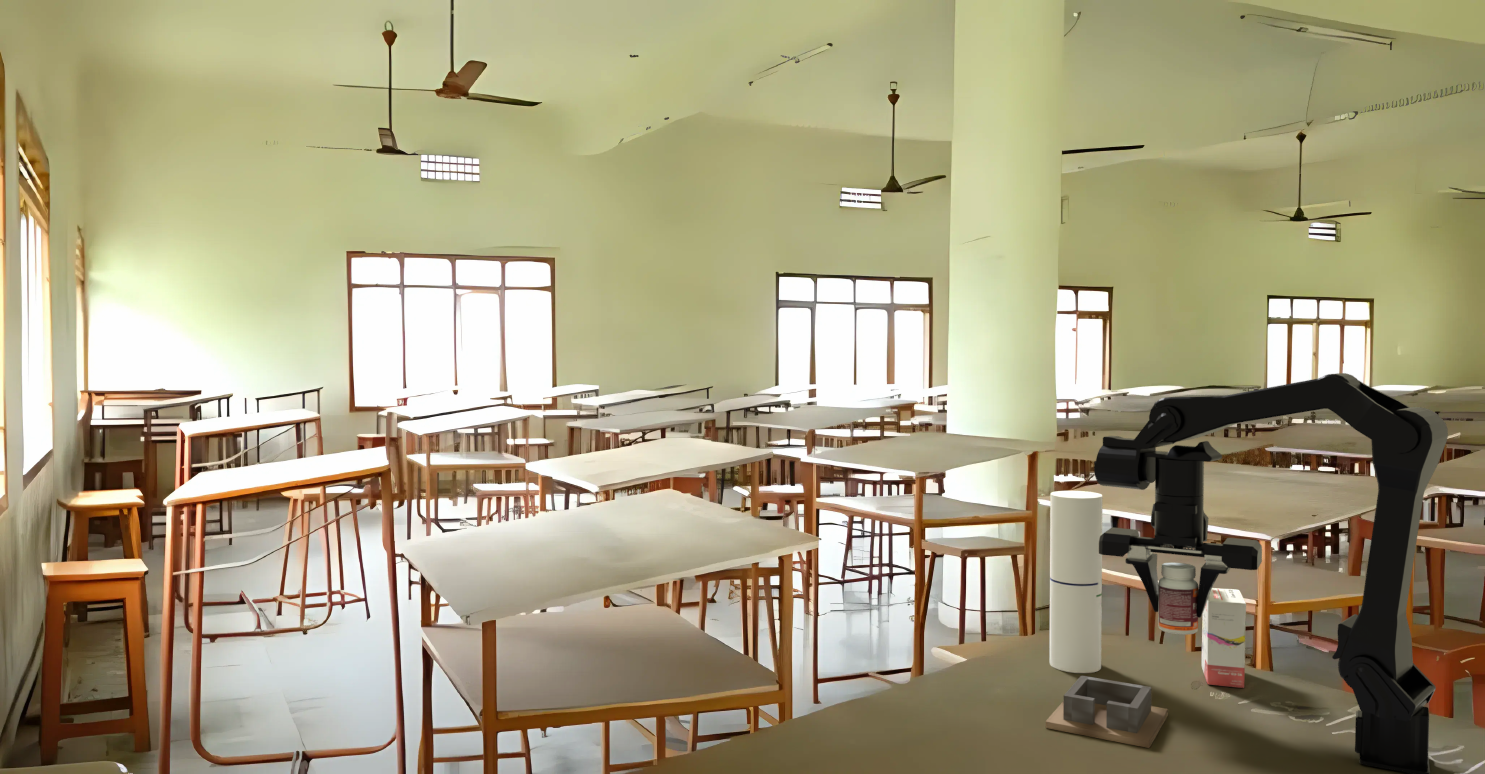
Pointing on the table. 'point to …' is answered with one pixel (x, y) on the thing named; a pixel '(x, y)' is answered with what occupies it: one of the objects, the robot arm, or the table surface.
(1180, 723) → the table surface
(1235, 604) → the white cardboard box
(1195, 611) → the pill bottle
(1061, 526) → the cylindrical container
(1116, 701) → the bottle holder
